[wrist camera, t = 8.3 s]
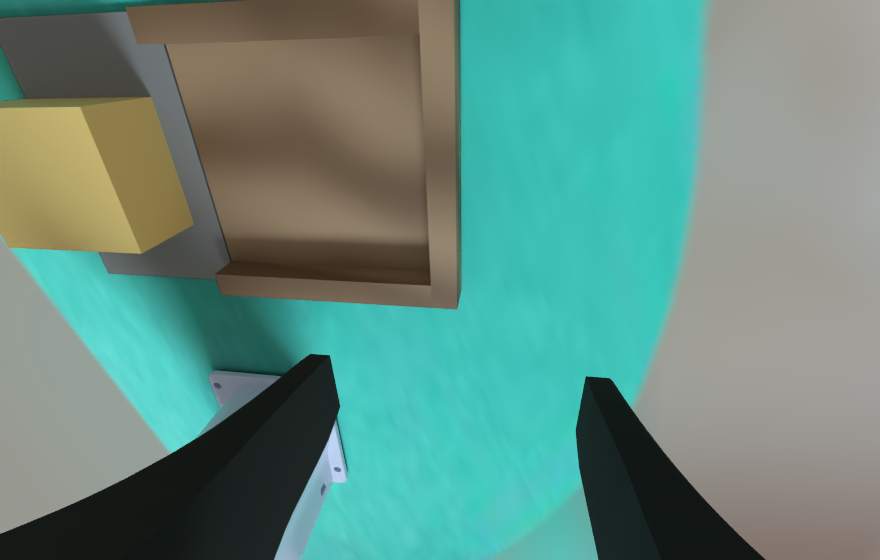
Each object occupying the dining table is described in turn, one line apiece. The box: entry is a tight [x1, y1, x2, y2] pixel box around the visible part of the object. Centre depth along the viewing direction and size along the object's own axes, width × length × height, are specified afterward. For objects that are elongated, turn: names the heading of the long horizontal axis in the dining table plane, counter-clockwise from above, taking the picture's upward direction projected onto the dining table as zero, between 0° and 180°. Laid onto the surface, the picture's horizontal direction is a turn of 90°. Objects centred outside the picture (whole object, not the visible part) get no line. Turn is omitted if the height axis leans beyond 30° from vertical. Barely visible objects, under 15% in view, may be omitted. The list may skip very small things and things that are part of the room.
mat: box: [0, 11, 232, 279], centre depth 20 cm, size 12×8×1 cm, turn 2°
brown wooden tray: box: [125, 0, 461, 309], centre depth 18 cm, size 12×12×2 cm
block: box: [0, 97, 194, 254], centre depth 19 cm, size 6×7×4 cm
